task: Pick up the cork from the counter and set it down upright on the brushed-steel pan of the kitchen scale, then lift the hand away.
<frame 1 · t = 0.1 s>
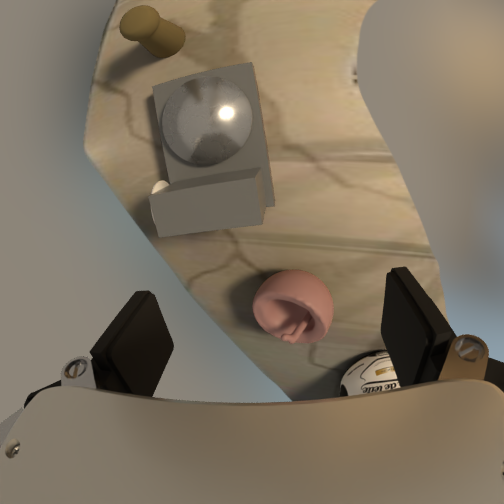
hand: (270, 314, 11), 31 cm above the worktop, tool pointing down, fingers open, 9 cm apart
mortar and pestle: (292, 288, 46), on the worktop
scale pan: (206, 120, 33), point 4 cm above the worktop, slide at 0.8 cm
milk container: (375, 371, 53), on the worktop
scale: (216, 140, 37), on the worktop
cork: (167, 41, 31), on the worktop
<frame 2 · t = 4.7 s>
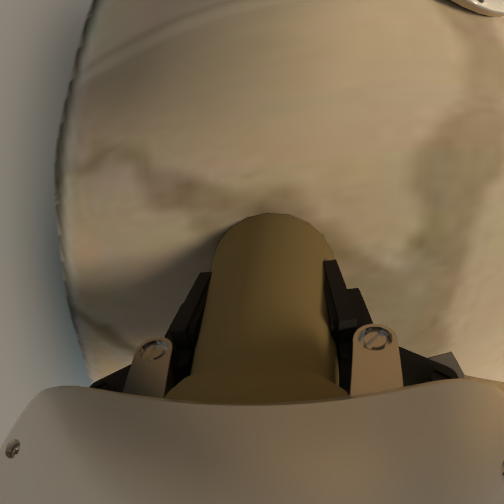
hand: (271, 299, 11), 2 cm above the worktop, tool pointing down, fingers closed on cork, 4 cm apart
scale: (348, 438, 20), on the worktop
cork: (273, 271, 14), on the worktop, touching gripper
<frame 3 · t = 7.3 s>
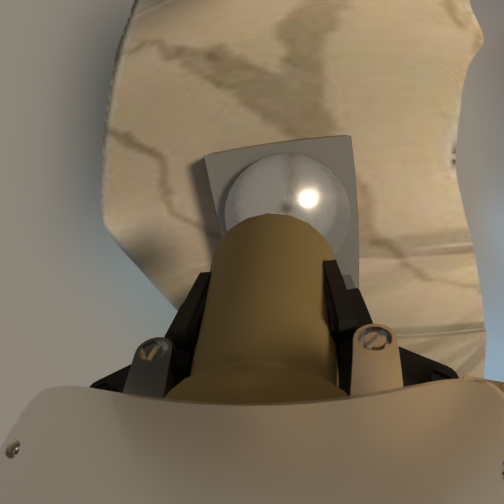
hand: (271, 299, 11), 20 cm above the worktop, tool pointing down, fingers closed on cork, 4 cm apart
scale pan: (288, 216, 26), point 4 cm above the worktop, slide at 0.8 cm
scale: (290, 232, 31), on the worktop
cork: (273, 271, 14), point 17 cm above the worktop, touching gripper
when the fingers open (9 cm above the worktop, at t = 10.3 s): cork stays where it is, resting on scale pan.
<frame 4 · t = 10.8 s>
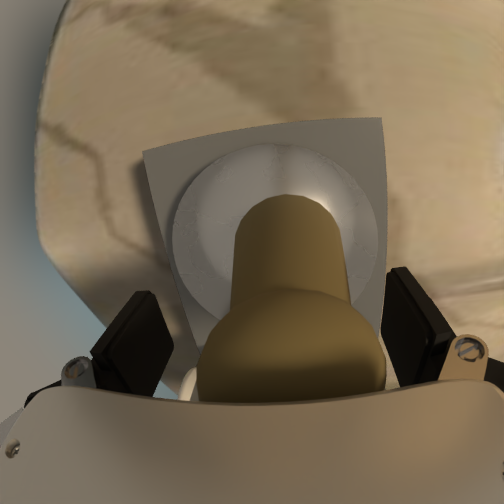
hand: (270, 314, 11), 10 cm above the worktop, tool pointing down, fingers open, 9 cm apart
scale pan: (274, 249, 16), point 4 cm above the worktop, slide at 0.9 cm, touching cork
scale: (281, 267, 21), on the worktop
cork: (288, 246, 16), point 4 cm above the worktop, touching scale pan
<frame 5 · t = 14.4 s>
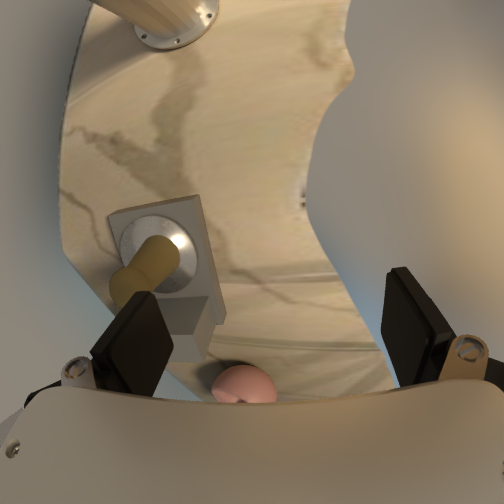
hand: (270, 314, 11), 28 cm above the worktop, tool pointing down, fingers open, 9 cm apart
mortar and pestle: (247, 371, 52), on the worktop
scale pan: (157, 255, 38), point 4 cm above the worktop, slide at 0.9 cm, touching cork
scale: (171, 263, 43), on the worktop
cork: (160, 254, 38), point 4 cm above the worktop, touching scale pan
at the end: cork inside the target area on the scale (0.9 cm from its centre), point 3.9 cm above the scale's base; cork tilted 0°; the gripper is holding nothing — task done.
